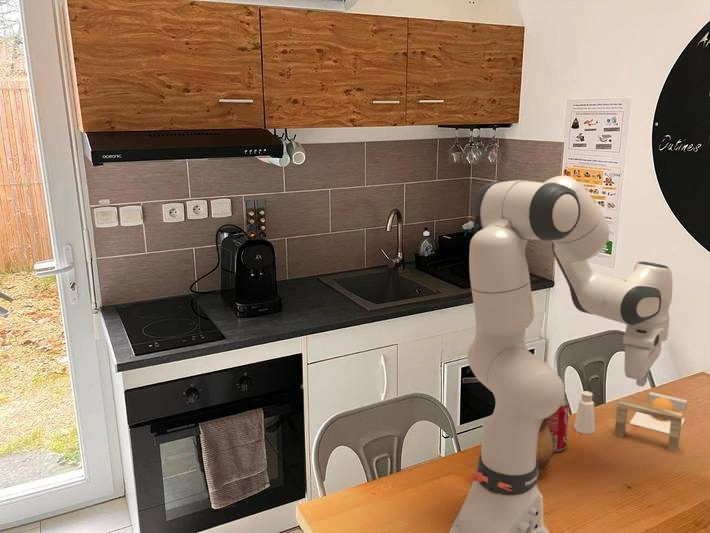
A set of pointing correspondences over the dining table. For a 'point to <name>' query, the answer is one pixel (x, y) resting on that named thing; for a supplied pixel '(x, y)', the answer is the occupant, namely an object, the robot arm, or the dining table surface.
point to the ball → (663, 404)
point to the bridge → (654, 411)
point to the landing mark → (652, 422)
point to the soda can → (559, 427)
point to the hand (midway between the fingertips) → (641, 384)
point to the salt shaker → (585, 414)
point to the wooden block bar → (676, 402)
